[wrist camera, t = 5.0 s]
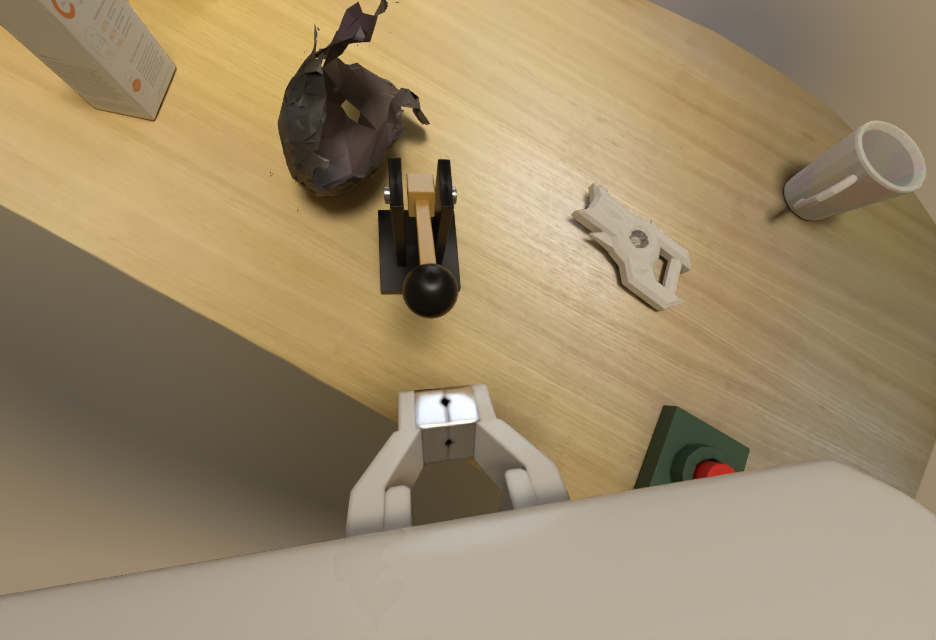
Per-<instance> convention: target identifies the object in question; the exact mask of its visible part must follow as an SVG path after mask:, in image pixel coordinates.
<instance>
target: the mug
mask: <svg viewBox="0 0 936 640" xmlns="http://www.w3.org/2000/svg"><path fill="white" fill-rule="evenodd" d="M925 176H926V166H925V161H924V158H923V156H922V153H921V151H920V149H919V148H918V147H917V145H916V144H915V142H914V141H913V140H912V139H911V138H910V137H909V136H908V135H907V134H906V133H905V132H904V131H902V130H901V129H899V128H898V127H896V126H895V125H892V124H890V123H887V122H885V121H871V122H868V123H865V124H863V125H861V126H860V127H859V128H857V129H856V130H855V131H853V132H852V133H851V134H849V135H848V136H847V137H845V138H844V139H843V140H841V141H840V142H839V143H837V144H836V145H835V146H833V147H832V148H831V149H829V150H828V151H827V152H825V153H824V154H823V155H821V156H820V157H819V158H817V159H816V160H815V161H813V162H812V163H811V164H809V165H808V166H807V167H805V168H804V169H803V170H801V171H800V172H799V173H797V174H796V175H795V176H793V177H792V178H791V179H790V180H789V181H788V182H787V183H786V185H785V188H784V196H785V199H786V202H787V204H788V205H789V207H790V209H791V210H792V211H793V212H794V213H795V214H796V215H798V216H799V217H801V218H803V219H806V220H809V221H816V220H820V219H824V218H827V217H830V216H834V215H837V214H840V213H844V212H847V211H850V210H854V209H857V208H860V207H864V206H867V205H870V204H874V203H877V202H880V201H884V200H887V199H890V198H894V197H897V196H900V195H903V194H907V193H910V192H912V191H915V190H917V189H918V188H920V186H921V185H922V184H923V183H924V181H925Z"/></svg>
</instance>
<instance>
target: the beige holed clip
mask: <svg viewBox="0 0 936 640" xmlns="http://www.w3.org/2000/svg"><path fill="white" fill-rule="evenodd" d="M588 189H589V196H590V204H589V205H588V207H587V208H586V209H582V210H576V211H574V212H573V213H572V214H571V215H572V216H573V217H574V218H575V219H576V220H577V221H578V222H580V223H581V224H582V225H584V226H585V227H586V228H588V229H589V230H590V231H592V232H593V233H589V235H590V236H591V237H592V238H593V239H594V240H596V241H597V242H598V243H599V244H600V245H601V246H602V247H604V248H605V249H606V250H607V251H608V253H609V255H610V256H611V257H612V258H613V260H614V261H615V262H616V263H617V264H618V265H619V271H620V276H621V281H622V285H624V286H625V287H627V288H628V289H629V290H631V291H632V292H633V293H635V294H636V295H637V296H639V297H640V298H641V299H643V300H644V301H645V302H647V303H648V304H649V305H651V306H652V307H654V308H655V309H656V310H658V311H660V310H664V309H667V308H670V307H672V306H675V305H678V304H681V303H684V301H682V300H681V299H680V298H678V297H677V296H676V295H675V291H676V287H677V283H678V279H679V275H680V271H682V272H683V273H685V272H688V271H690V270H691V266H690V258H689V252H688V251H687V250H686V249H684V248H683V247H682V246H680V245H679V244H678V243H676V242H675V241H674V240H672V239H671V238H670V237H668V236H667V235H666V234H664V233H663V232H662V231H661V230H660V228H659V227H658V226H657V225H656V224H655V223H654V221H653V220H651V223H650V222H649V221H647V220H645V219H643V218H641V217H639V216H636V215H634V214H633V213H632V212H631V211H629V210H628V209H627V208H625V207H624V206H623V205H621V204H620V203H619V202H617V201H616V200H615V199H614V198H612V197H611V196H610V195H609V193H608V191H607V190H606V189H605V188H603V187H602V186H601V185H598V186H596V185H595V184H594V183H593V184H592V185H591V186H590V187H589V188H588ZM629 237H630V238H629ZM659 254H660V255H661V256H662V257H664V258H665V259H666V260H667V261H668V263H667V267H666V271H665V275H664V279H663V283H662V285H661V284H660V283H658V282H657V281H656V279H655V275H654V271H653V266H654V265H655V263H656V262H657V260H658V259H659Z"/></svg>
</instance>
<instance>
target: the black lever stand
mask: <svg viewBox="0 0 936 640" xmlns="http://www.w3.org/2000/svg"><path fill="white" fill-rule="evenodd" d="M388 168H389V186H384V200H385V204H390V210H378V221H379V251H380V281H381V293H382V294H403V283H404V280H405V278H406V276H407V275H408V273H409V272H410V271H411V270H413V269H414V268H415V267H417V266H419V265H420V264H419V251H418V239H417V227H416V217H409V213H408V210H404V204H403V187H402V170H401V158H388ZM456 201H457V191H456V187H452V177H451V165H450V160H447V159H438V166H437V176H436V186H435V216H434V217H431V225H432V233H433V241H434V249H435V257H436V264H438V265H441V266H443V267H445V268H446V269H448V270H449V271H450V272H451V273H452V275H453V276H454V278H455V280H456V282H457V286H458V292H459V291H460V289H461V286H460V275H459V263H458V251H457V239H456V227H455V216H454V204H456Z"/></svg>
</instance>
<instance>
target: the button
mask: <svg viewBox="0 0 936 640" xmlns="http://www.w3.org/2000/svg"><path fill="white" fill-rule="evenodd" d="M729 473H735V471H734V469H732V468H731V467H730V466H728V465H726V464H722V463H718V462H713V461H703V462H701V463H699V464H698V465H697V467H696V468H695V471H694V474H693V479H699V478H705V477H711V476H717V475H723V474H729Z"/></svg>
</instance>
